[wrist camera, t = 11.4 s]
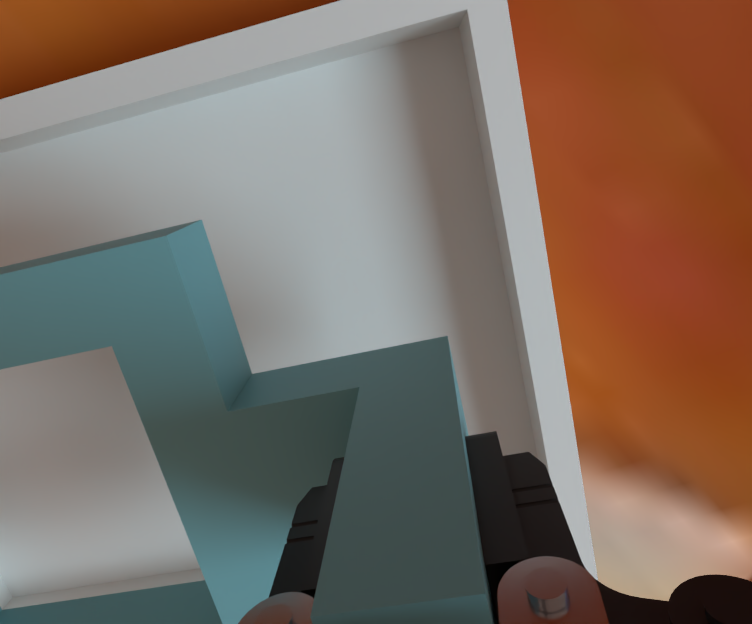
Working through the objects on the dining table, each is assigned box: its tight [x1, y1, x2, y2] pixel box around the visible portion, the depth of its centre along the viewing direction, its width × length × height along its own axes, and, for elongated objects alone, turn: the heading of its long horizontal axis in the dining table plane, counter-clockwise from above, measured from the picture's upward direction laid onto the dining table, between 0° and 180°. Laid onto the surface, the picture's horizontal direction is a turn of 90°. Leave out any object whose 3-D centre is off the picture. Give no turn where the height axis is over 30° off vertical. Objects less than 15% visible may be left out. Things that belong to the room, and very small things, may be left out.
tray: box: [0, 0, 598, 610], centre depth 21 cm, size 20×26×4 cm
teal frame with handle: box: [0, 220, 497, 624], centre depth 12 cm, size 12×17×8 cm
